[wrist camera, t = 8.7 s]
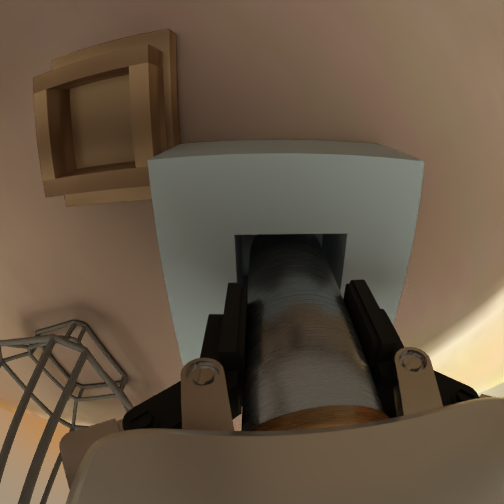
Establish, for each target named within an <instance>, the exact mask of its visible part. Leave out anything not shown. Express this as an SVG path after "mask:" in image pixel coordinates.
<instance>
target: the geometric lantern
mask: <svg viewBox="0 0 504 504" xmlns="http://www.w3.org/2000/svg"><path fill="white" fill-rule="evenodd" d="M70 325H71V327H70V329H69V330H68V332H67V333H66V335H65V336H62V335H55V334H52V335H44V336H39V335H38V334H42V333H45V332H49V331H52V330H56V329H60V328H63V327H67V326H70ZM76 325H78V326H81V327H83V328H82V330H81V332H80V334H79V336H78V338H74V337H71V336H70V335H71V333H72V331H73V330H74V328H75V327H76ZM85 331H87V332H88V333H89V335H90V336H91V337H92V339H93V340H94V341H95V343H96V344H97V345H98V347H99V348H100V349H101V351H102V352H103V353H104V354H105V356H106V357H107V358H108V359H109V361H110V362H111V363H112V364H113V366H114V367H115V368H116V369H117V370H118V372H119V373H120V374H121V375H122V380H121V381H120V382H114V381H113V380H112V379H111V378H110V376H109V375H108V374H107V373H106V372H105V371H104V370H103V369H102V367H101V366H100V365H99V363H98V362H97V361H96V359H95V358H94V357H93V355H92V354H91V352H90V351H89V350H88V349H87V348H86V347H85V346H83V345H82V344H81V339H82V337H83V335H84V333H85ZM75 342H76V343H75ZM34 343H36V344H34ZM55 343H59V344H61V345H64V346H66V347H69V348H71V349H74V350H77V351H79V352H81V355H80V357H79V359H78V361H77V363H76V365H75V367H74V369H73V371H72V373H71V375H70V377H69V376H68V375H67V373H66V372H65V371H64V370H63V369H62V368H61V366H60V365H59V364H58V363H57V362H56V360H55V359H54V358H53V357H52V356H51V354H50V353H51V351H52V349H53V347H54V345H55ZM23 344H29V345H23ZM1 346H8V347H16V348H25V349H28V352H25V353H21V354H18V355H14V356H11V357H7V358H4V359H3V358H2V353H1ZM44 346H46V347H44ZM37 347H41V348H42V349H43V353H42V355H41V357H40V360H39V361H38V360H37V359H36V358H35V357H34V356H33V353H34V352H35V350H36V349H37ZM31 349H32V350H31ZM28 355H29V356H30V357H31V358H32V360H33V361H34V362H35V363H36V364H37V366H36V368H35V370H34V372H33V374H32V376H31V378H30V381H29V383H28V385H27V387H26V386H25V385H24V383H23V382H22V381H21V380H20V379H19V378H18V377H17V376H16V374H15V373H14V372H13V371H12V370H11V369H10V367H9V366H8V365H7V364H6V363H5V362H7V361H11V360H14V359H17V358H21V357H24V356H28ZM48 357H49V358H50V359H51V360H52V362H53V363H54V364H55V365H56V366H57V367H58V369H59V370H60V371H61V372H62V373H63V374H64V376H65V377H66V378H67V379H68V381H67V384H66V386H65V388H64V387H63V386H62V385H61V384H60V383H59V382H58V381H57V380H56V379H55V378H54V377H53V376H52V375H51V374H50V373H49V372H48V371H47V370H46V369H45V368H44V366H45V364H46V362H47V359H48ZM86 359H88V361H89V362H90V363H91V365H92V366H93V367H94V369H95V370H96V371H97V373H98V374H99V375H100V376H101V378H102V379H103V380H104V381H105V383H103V384H94V385H84V386H83V385H80V384H78V383H76V380H77V378H78V376H79V373H80V371H81V369H82V367H83V365H84V363H85V361H86ZM1 366H3V367H4V368H5V370H6V371H7V372H8V373H9V374H10V375H11V376H12V378H13V379H14V380H15V381H16V382H17V383H18V384H19V385H20V386H21V388H22V389H23V390H24V394H23V396H22V398H21V401H20V403H19V405H18V408H17V410H16V412H15V415H14V417H13V420H12V423H11V425H10V428H9V430H8V433H7V436H6V438H5V441H4V444H3V447H2V450H1V453H0V482H1V478H2V475H3V471H4V468H5V465H6V461H7V458H8V455H9V452H10V449H11V446H12V443H13V441H14V438H15V435H16V432H17V429H18V427H19V424H20V422H21V419H22V416H23V414H24V412H25V409H26V407H27V404H28V402H29V399H30V397H31V398H32V399H33V400H34V401H35V402H36V403H37V404H38V405H39V406H40V407H41V408H42V409H43V410H44V411H45V412H46V413H47V414H48V415H49V416H50V418H49V420H48V423H47V425H46V427H45V430H44V432H43V435H42V437H41V440H40V442H39V444H38V447H37V450H36V452H35V455H34V457H33V460H32V463H31V466H30V468H29V471H28V474H27V477H26V480H25V483H24V486H23V489H22V492H21V495H20V499H19V502H18V504H29V503H30V500H31V497H32V493H33V490H34V487H35V483H36V481H37V478H38V475H39V472H40V469H41V466H42V463H43V460H44V458H45V455H46V452H47V450H48V447H49V444H50V442H51V439H52V436H53V434H54V431H55V429H56V426H57V424H58V422H60V423H62V424H63V425H65V426H67V427H69V428H71V429H70V432H71V431H74V430H78V429H82V428H85V427H89V426H80V425H75V420H76V412H77V404H78V401H86V400H96V399H105V398H114V397H118V398H119V399H120V400H121V402H122V403H123V405H124V408H125V410H126V412H128V411H129V410H130V409H132V408H133V405H132V404H131V402H130V401H129V399H128V398H127V396H126V395H125V393H124V392H123V390H124V387H125V385H126V383H127V382H126V374H125V373H124V372H123V371H122V370H121V369H120V367H119V366H118V365H117V364H116V362H115V361H114V360H113V359H112V357H111V356H110V355H109V354H108V352H107V351H106V350H105V348H104V347H103V346H102V345H101V343H100V342H99V341H98V339H97V338H96V337H95V335H94V334H93V333H92V331H91V330H90V328H89V327H88V326H87V324H85V323H82V322H78V321H75V320H72V321H70V322H66V323H63V324H59V325H56V326H52V327H49V328H45V329H42V330H39V331H36V332H35V336H34V337H27V338H19V339H9V340H0V368H1ZM42 370H43V371H44V372H45V373H46V374H47V376H48V377H49V378H50V379H51V380H52V381H53V382H54V383H55V384H56V385H57V386H58V387H59V388H61V389H62V390H63V392H62V394H61V397H60V399H59V401H58V403H57V405H56V408H55V410H54V412H53V413H52V412H51V411H50V410H49V409H48V408H47V407H46V406H45V405H44V404H43V403H42V402H41V401H40V400H39V399H38V398H37V397H36V396H35V395H34V394H33V393H32V392H33V390H34V388H35V386H36V383H37V381H38V379H39V377H40V375H41V372H42ZM118 385H120V387H119V386H118ZM76 386H77V387H80V388H81V390H80V392H79V395H78V397H75V396H73V395H72V393H73V391H74V389H75V387H76ZM107 386H109V387H110V389H111V390H112V391H113V392H114V393H115V394H109V395H101V396H92V397H83V398H81V396H82V394H83V391H84V389H86V388H97V387H107ZM70 397H71V398H73V399H74V400H75V402H74V410H73V419H72V424H70V423H68V422H66V421H65V420H63V419H61V418H60V417H61V414H62V412H63V409H64V407H65V405H66V403H67V401H68V400H69V398H70ZM61 462H62V458H61V453H59V456H58V458H57V460H56V463H55V465H54V468H53V470H52V473H51V475H50V478H49V480H48V483H47V486H46V488H45V492H44V494H43V496H42V499H41V502H40V504H46V502H47V498H48V496H49V493H50V490H51V488H52V485H53V482H54V479H55V477H56V474H57V472H58V469H59V466H60V464H61Z"/></svg>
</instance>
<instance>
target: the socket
mask: <svg viewBox="0 0 504 504" xmlns="http://www.w3.org/2000/svg"><path fill="white" fill-rule="evenodd" d="M147 161H148V170H149V180H150V188H151V196H152V204H153V212H154V219H155V226H156V232H157V239H158V245H159V251H160V257H161V263H162V269H163V274H164V280H165V285H166V290H167V295H168V300H169V305H170V310H171V315H172V320H173V324H174V329H175V333H176V338H177V342H178V346H179V350H180V355H181V359H182V363H183V367H184V365H186V364H187V363H188V362H189V361H192V360H194V359H197V358H200V354H201V349H202V344H203V339H204V335H205V330H206V325H207V320H208V316H209V314H224V307H225V300H226V293H227V287H228V283H242V286H247V297H248V275H249V254H250V247H251V244H252V242H253V240H254V238H255V237H256V235H258V234H315V235H316V237H317V239H318V241H319V243H320V245H321V248H322V250H323V252H324V254H325V257H326V259H327V261H328V264H329V266H330V269H331V271H332V273H333V276H334V278H335V280H336V283H337V285H338V288H339V290H340V293H341V295H342V298H343V299H344V292H345V286H346V284H347V283H350V281H351V280H361V279H364V280H365V281H366V283H367V285H368V287H369V289H370V291H371V292H372V294H373V296H374V298H375V300H376V302H377V304H378V305H379V307H380V309H384V310H385V311H386V313H387V315H388V317H389V319H390V321H391V322H392V324H393V322H394V319H395V315H396V312H397V308H398V304H399V301H400V297H401V293H402V289H403V285H404V281H405V277H406V272H407V268H408V263H409V259H410V254H411V249H412V244H413V239H414V233H415V228H416V222H417V216H418V209H419V202H420V195H421V188H422V179H423V170H424V161H422V160H420V159H417V158H415V157H412V156H409V155H407V154H404V153H401V152H399V151H396V150H393V149H390V148H388V147H385V146H382V145H379V144H373V143H360V142H344V141H324V140H232V141H212V142H196V143H183V144H179V145H177V146H174V147H172V148H170V149H168V150H166V151H164V152H162V153H160V154H158V155H156V156H154V157H152V158H151V159H149V160H147Z"/></svg>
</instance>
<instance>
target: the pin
mask: <svg viewBox="0 0 504 504" xmlns="http://www.w3.org/2000/svg"><path fill="white" fill-rule="evenodd" d="M384 419H390V418H389V417H388V416H387V415H386V414H385V413H384V410H383V407H382V404H381V401H380V398H379V395H378V392H377V389H376V386H375V383H374V380H373V377H372V374H371V372H370V369H369V366H368V363H367V360H366V358H365V355H364V352H363V349H362V347H361V344H360V341H359V339H358V336H357V333H356V331H355V328H354V326H353V323H352V320H351V318H350V315H349V313H348V310H347V308H346V305H345V303H344V300H343V298H342V295H341V293H340V290H339V288H338V285H337V283H336V280H335V278H334V276H333V273H332V271H331V269H330V266H329V264H328V261H327V259H326V257H325V254H324V252H323V250H322V248H321V245H320V243H319V241H318V239H317V237H316V235H315V234H258V235H256V237H255V238H254V240H253V242H252V244H251V247H250V254H249V275H248V311H247V335H246V358H245V376H244V385H243V407H242V430H241V431H285V430H302V429H315V428H326V427H335V426H344V425H352V424H359V423H366V422H372V421H378V420H384Z"/></svg>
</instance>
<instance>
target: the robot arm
mask: <svg viewBox="0 0 504 504" xmlns="http://www.w3.org/2000/svg"><path fill="white" fill-rule="evenodd" d="M343 300H344V303H345V305H346V308H347V310H348V313H349V315H350V318H351V320H352V323H353V326H354V328H355V331H356V333H357V336H358V339H359V341H360V344H361V347H362V349H363V352H364V355H365V358H366V360H367V363H368V366H369V369H370V372H371V374H372V377H373V380H374V383H375V386H376V389H377V392H378V395H379V398H380V401H381V404H382V407H383V410H384V413H385V414H386V415H387V416H388V417H389V418H390V419H384V420H378V421H372V422H366V423H359V424H352V425H344V426H335V427H326V428H315V429H302V430H285V431H234V426H233V421H232V420H233V419H234V418H236V417H237V416H238V415H240V414H241V412H242V406H243V385H244V376H245V358H246V335H247V311H248V297H247V286H242V283H228V287H227V293H226V300H225V307H224V314H209V316H208V320H207V325H206V330H205V335H204V339H203V344H202V349H201V354H200V358H197V359H194V360H192V361H189V362H188V363H187V364H186V365H184V367H183V369H182V371H181V381H180V382H178V383H176V384H174V385H173V386H171V387H169V388H167V389H166V390H164V391H162V392H160V393H159V394H157V395H155V396H153V397H152V398H150V399H148V400H146V401H144V402H143V403H141V404H139V405H137V406H135V407H133V408H132V409H130V410H129V411H128V412H127V413H126V414H125V416H124V418H123V419H121V420H118V421H116V419H111V420H108V421H105V422H102V423H99V424H95V425H92V426H89V427H85V428H82V429H78V430H74V431H71V432H69V433H67V434H65V435H64V436H63V437H62V439H61V441H60V453H61V458H62V462H63V466H64V470H65V474H66V478H67V482H68V486H69V489H70V492H69V495H68V498H67V501H66V504H504V398H503V397H492V396H487V395H483V394H481V396H480V397H479V396H478V394H477V392H476V391H475V390H474V389H473V388H471V387H469V386H467V385H465V384H463V383H461V382H458V381H456V380H454V379H452V378H450V377H447V376H445V375H443V374H441V373H439V372H436V371H434V370H433V367H432V364H431V360H430V358H429V356H428V355H427V354H426V353H425V352H424V351H422V350H420V349H418V348H414V347H405V348H404V346H403V344H402V342H401V340H400V338H399V336H398V334H397V332H396V330H395V328H394V326H393V324H392V322H391V321H390V319H389V317H388V315H387V313H386V311H385V310H384V309H380V307H379V305H378V304H377V302H376V300H375V298H374V296H373V294H372V292H371V291H370V289H369V287H368V285H367V283H366V281H365V280H364V279H361V280H351V281H350V283H347V284H346V286H345V292H344V299H343Z"/></svg>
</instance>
